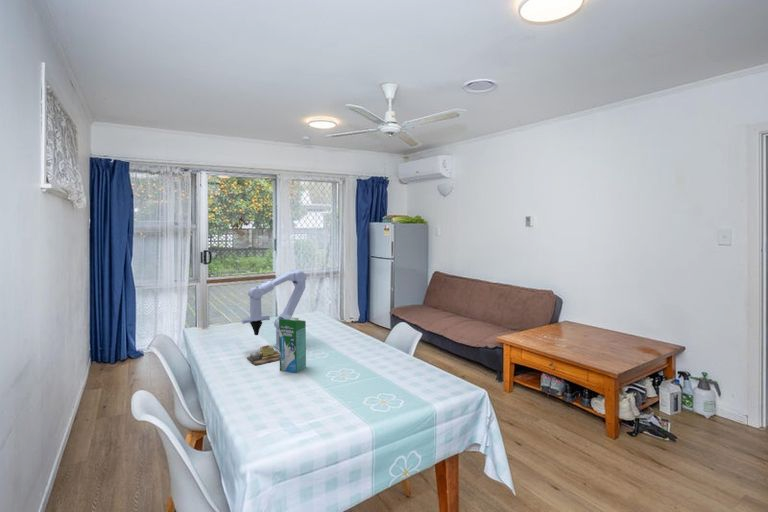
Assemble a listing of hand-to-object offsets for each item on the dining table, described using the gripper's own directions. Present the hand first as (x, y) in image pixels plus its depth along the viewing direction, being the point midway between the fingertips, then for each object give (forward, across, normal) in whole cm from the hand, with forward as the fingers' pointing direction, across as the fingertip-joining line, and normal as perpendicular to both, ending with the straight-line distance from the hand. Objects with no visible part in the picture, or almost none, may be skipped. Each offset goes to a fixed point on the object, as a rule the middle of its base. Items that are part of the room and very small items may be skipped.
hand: (256, 334), depth 213 cm
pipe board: (+9, 0, +14) cm, 17 cm away
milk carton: (+10, -5, +34) cm, 36 cm away
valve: (+8, 0, +14) cm, 16 cm away
